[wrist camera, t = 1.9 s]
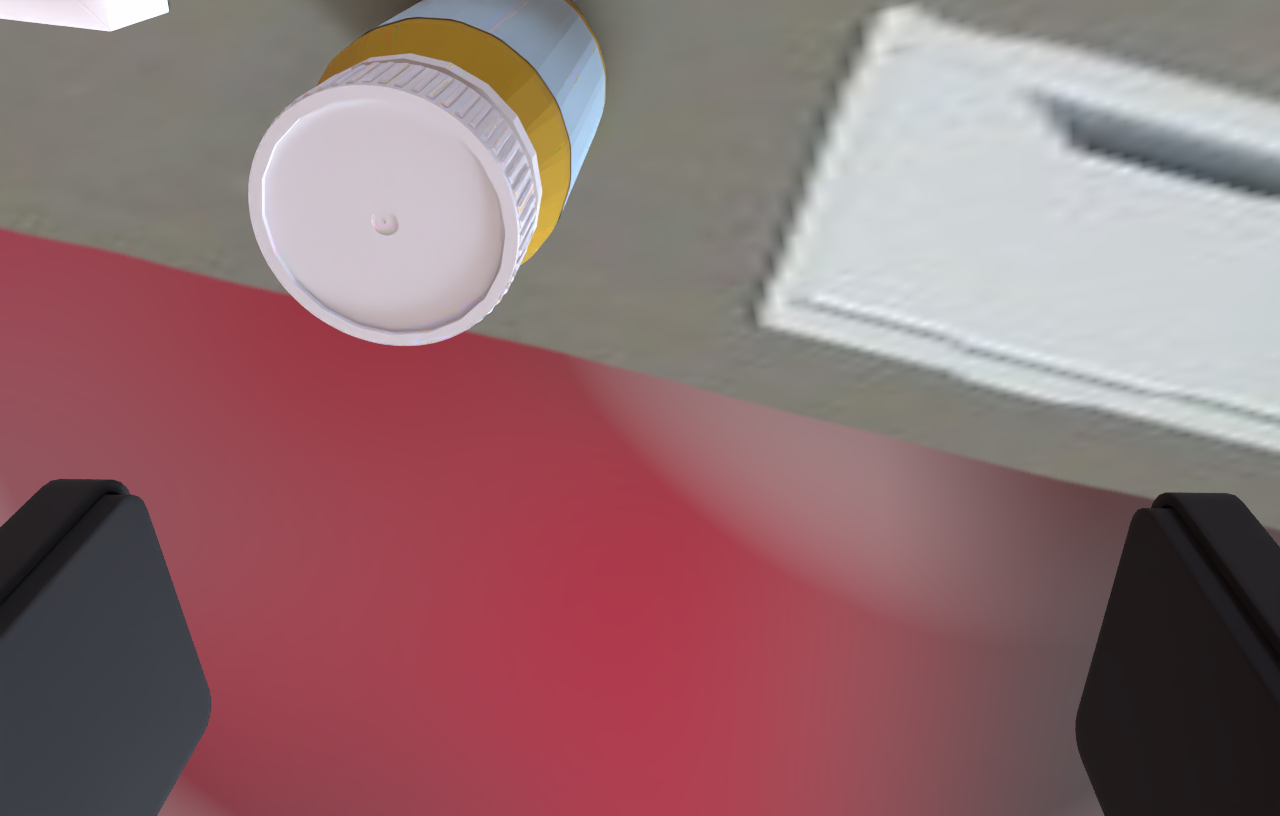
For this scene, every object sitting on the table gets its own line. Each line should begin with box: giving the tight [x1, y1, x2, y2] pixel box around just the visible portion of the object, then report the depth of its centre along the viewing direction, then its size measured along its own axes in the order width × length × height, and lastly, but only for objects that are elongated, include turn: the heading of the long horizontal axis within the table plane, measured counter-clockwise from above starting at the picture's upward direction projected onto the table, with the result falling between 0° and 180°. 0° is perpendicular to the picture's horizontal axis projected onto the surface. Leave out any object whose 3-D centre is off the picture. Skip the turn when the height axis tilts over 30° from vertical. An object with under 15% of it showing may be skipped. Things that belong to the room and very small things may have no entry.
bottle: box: [248, 0, 606, 346], centre depth 28 cm, size 7×7×15 cm
